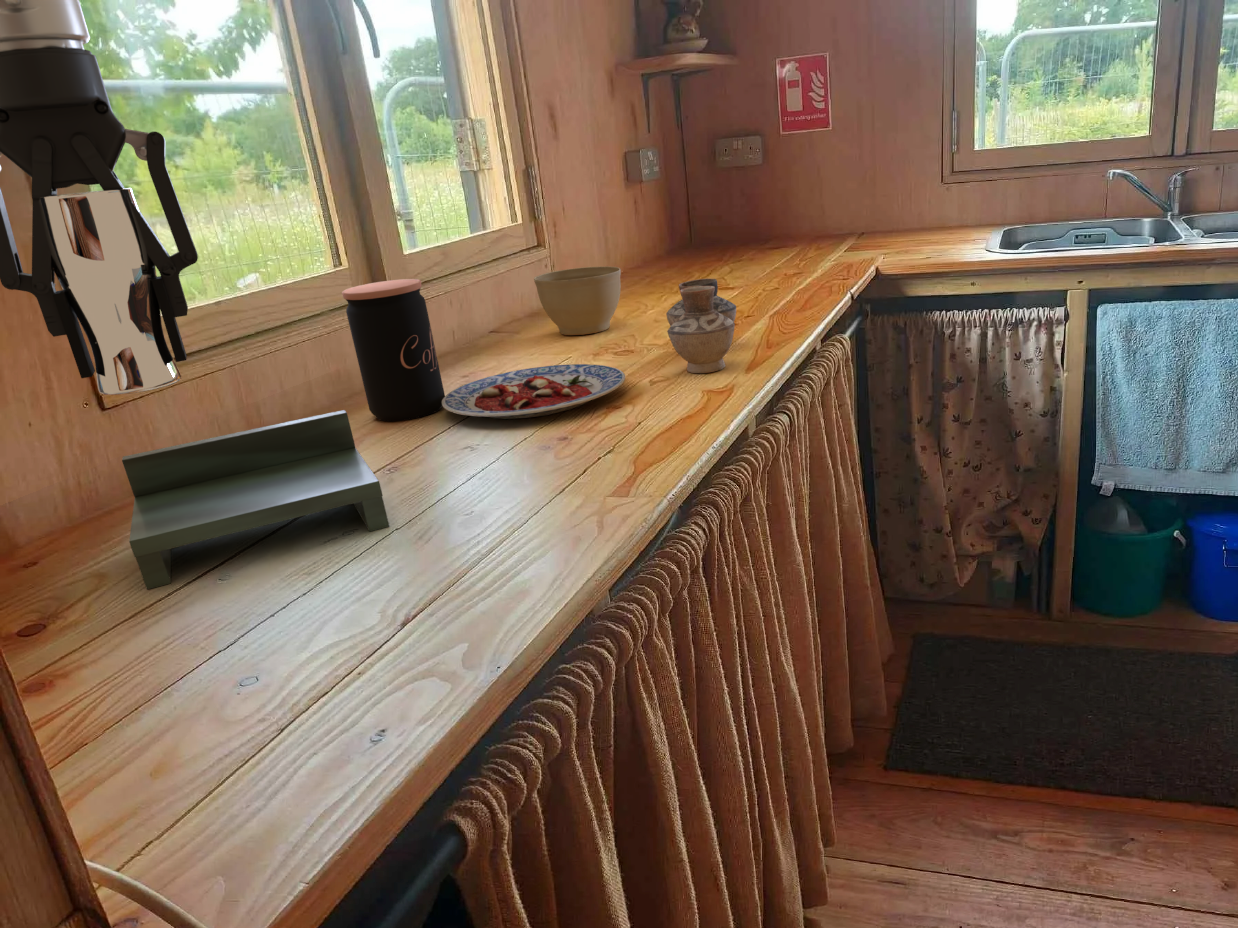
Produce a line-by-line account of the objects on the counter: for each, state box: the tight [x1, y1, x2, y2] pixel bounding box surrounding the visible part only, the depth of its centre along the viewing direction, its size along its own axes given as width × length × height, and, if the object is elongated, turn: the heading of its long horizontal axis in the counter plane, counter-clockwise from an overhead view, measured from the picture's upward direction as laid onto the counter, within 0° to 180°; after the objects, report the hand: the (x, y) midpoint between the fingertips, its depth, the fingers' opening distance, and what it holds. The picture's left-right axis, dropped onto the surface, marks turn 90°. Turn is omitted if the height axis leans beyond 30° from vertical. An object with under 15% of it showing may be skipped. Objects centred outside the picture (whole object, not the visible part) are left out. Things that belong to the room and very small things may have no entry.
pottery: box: [666, 278, 737, 374], centre depth 149 cm, size 11×25×12 cm, turn 0°
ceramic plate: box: [442, 363, 626, 420], centre depth 137 cm, size 26×26×3 cm
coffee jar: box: [341, 278, 446, 422], centre depth 137 cm, size 11×11×18 cm
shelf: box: [121, 409, 390, 590], centre depth 97 cm, size 16×22×9 cm
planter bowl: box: [533, 265, 622, 336], centre depth 182 cm, size 16×16×11 cm
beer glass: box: [39, 187, 183, 396], centre depth 76 cm, size 7×7×15 cm
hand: (135, 365), depth 78 cm, fingers closed on beer glass, 6 cm apart
